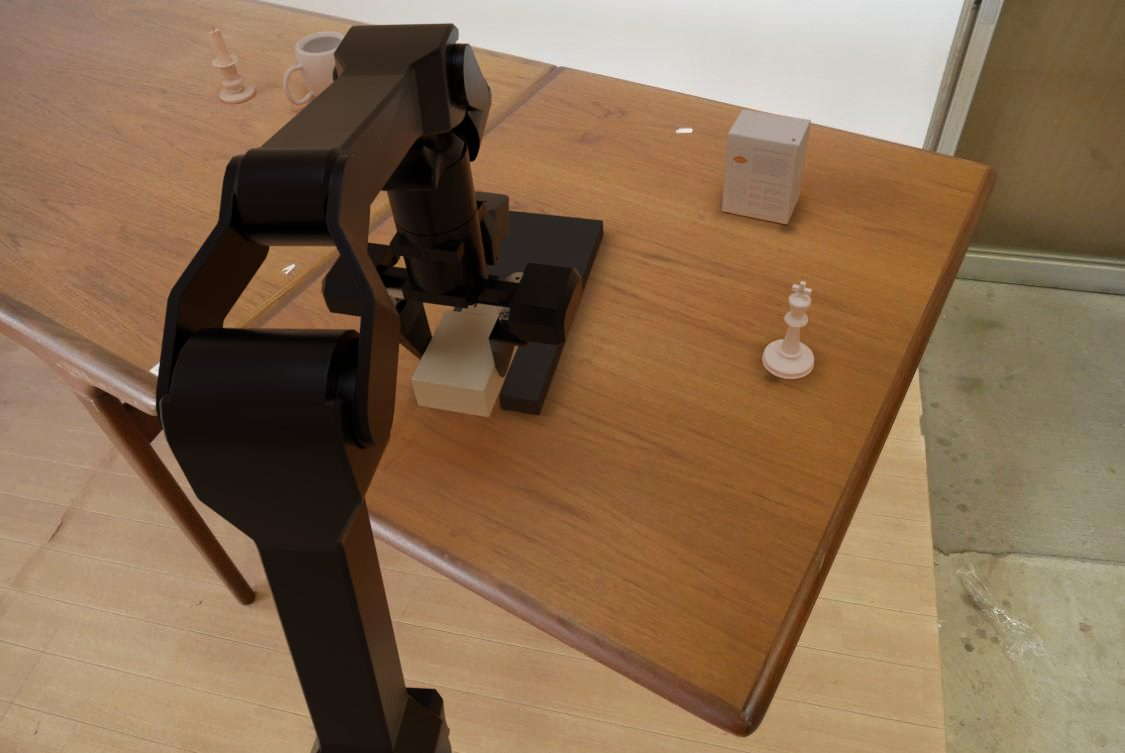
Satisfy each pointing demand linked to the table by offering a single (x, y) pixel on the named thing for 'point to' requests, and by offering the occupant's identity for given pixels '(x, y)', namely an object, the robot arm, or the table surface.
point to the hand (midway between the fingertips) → (467, 367)
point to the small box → (764, 165)
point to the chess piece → (791, 340)
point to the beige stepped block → (460, 364)
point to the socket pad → (526, 243)
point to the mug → (314, 63)
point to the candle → (229, 72)
